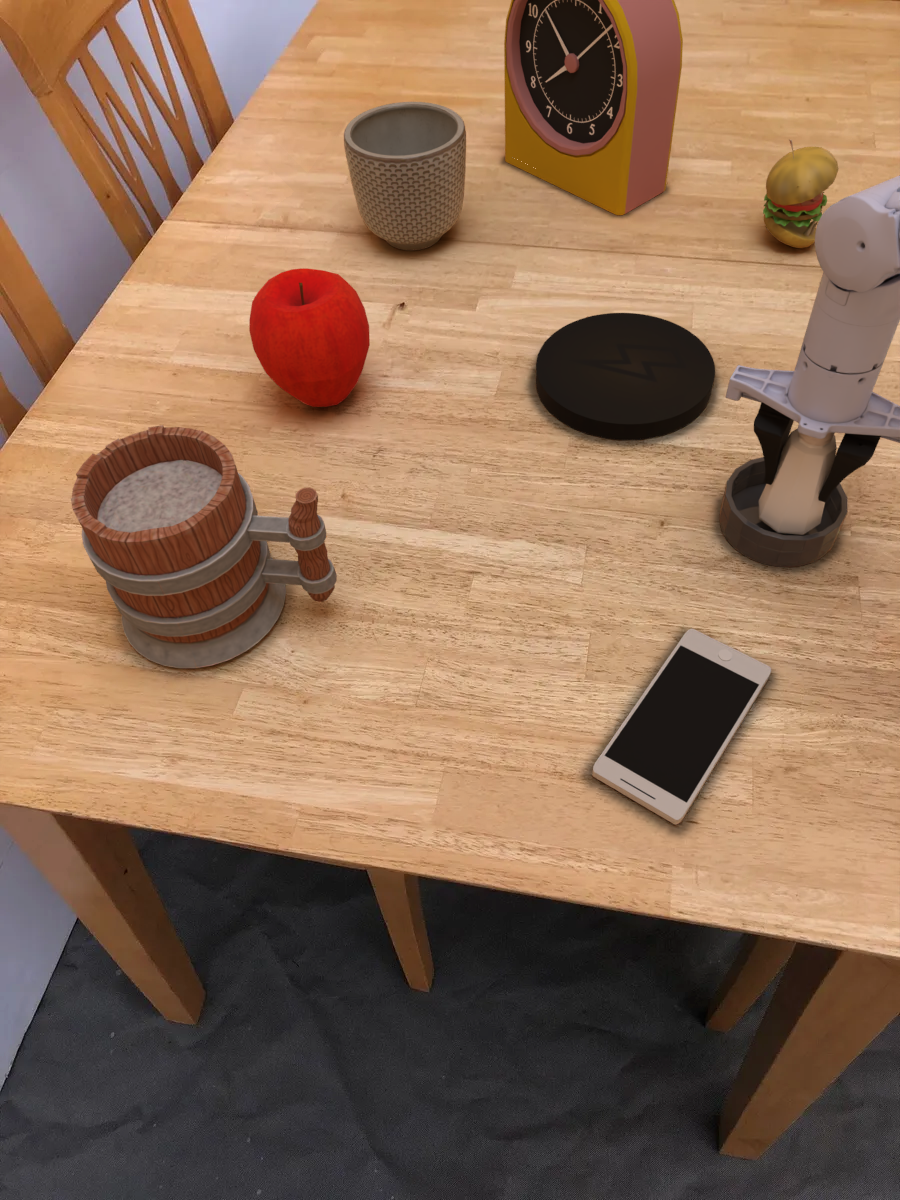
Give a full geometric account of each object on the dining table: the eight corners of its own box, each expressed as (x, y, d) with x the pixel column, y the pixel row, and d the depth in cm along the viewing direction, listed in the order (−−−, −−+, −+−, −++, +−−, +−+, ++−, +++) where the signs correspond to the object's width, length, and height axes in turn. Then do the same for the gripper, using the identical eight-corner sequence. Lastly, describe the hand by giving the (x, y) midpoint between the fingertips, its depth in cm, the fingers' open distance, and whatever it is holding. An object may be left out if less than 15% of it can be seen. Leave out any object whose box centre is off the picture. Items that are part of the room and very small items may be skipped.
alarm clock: (502, 160, 124) (500, -73, 104) (550, 136, 128) (557, -94, 107) (619, 216, 114) (643, -29, 93) (668, 188, 117) (701, -54, 97)
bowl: (836, 492, 84) (847, 463, 81) (835, 576, 78) (847, 548, 75) (723, 476, 85) (730, 448, 83) (714, 557, 80) (721, 530, 77)
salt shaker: (746, 522, 79) (775, 423, 70) (769, 483, 82) (799, 383, 73) (808, 545, 77) (846, 447, 69) (830, 504, 80) (868, 405, 71)
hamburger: (824, 258, 106) (855, 154, 97) (761, 261, 106) (785, 158, 97) (808, 222, 111) (835, 120, 102) (747, 225, 111) (769, 124, 102)
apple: (244, 393, 97) (211, 280, 86) (335, 345, 101) (314, 231, 90) (308, 450, 91) (281, 335, 80) (401, 396, 95) (388, 281, 85)
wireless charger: (508, 355, 98) (508, 339, 97) (657, 312, 102) (659, 296, 100) (582, 460, 88) (583, 445, 86) (746, 409, 91) (750, 393, 89)
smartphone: (771, 673, 72) (774, 666, 71) (678, 827, 64) (680, 821, 64) (687, 632, 75) (689, 625, 74) (589, 775, 67) (590, 769, 67)
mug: (154, 538, 84) (96, 411, 73) (360, 552, 82) (335, 422, 70) (99, 665, 76) (24, 544, 64) (327, 684, 74) (292, 561, 62)
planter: (487, 217, 116) (485, 110, 105) (440, 276, 108) (433, 167, 98) (389, 198, 120) (378, 93, 110) (337, 254, 112) (319, 147, 102)
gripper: (726, 353, 67) (697, 487, 77) (937, 411, 62) (874, 546, 72) (758, 301, 70) (725, 436, 81) (959, 352, 65) (896, 489, 76)
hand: (797, 485), depth 77 cm, fingers closed on salt shaker, 4 cm apart
